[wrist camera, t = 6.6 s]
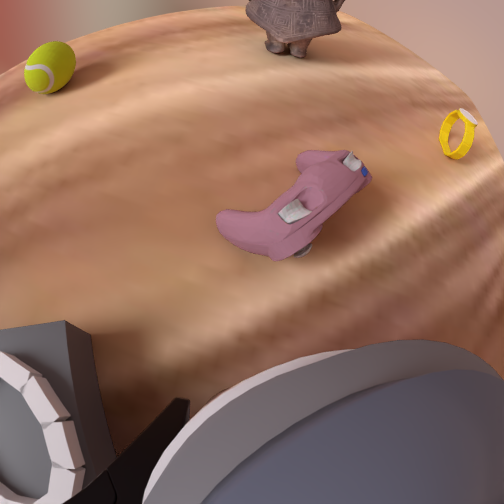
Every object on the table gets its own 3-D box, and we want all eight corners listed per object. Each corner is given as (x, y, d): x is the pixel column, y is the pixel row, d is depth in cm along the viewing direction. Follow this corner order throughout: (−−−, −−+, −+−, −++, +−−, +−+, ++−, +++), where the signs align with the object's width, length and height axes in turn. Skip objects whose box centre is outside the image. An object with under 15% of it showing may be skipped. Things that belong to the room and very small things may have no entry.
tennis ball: (24, 108, 24) (7, 66, 18) (47, 79, 27) (36, 39, 21) (66, 100, 24) (53, 51, 18) (88, 71, 27) (80, 27, 21)
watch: (430, 132, 30) (451, 97, 25) (446, 140, 30) (467, 107, 25) (443, 161, 27) (469, 124, 22) (460, 169, 27) (486, 134, 22)
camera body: (141, 522, 10) (121, 556, 6) (16, 508, 8) (-22, 522, 4) (90, 334, 15) (53, 313, 11) (-21, 348, 13) (-63, 330, 9)
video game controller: (246, 278, 20) (310, 274, 13) (204, 222, 19) (252, 191, 13) (329, 200, 24) (395, 176, 17) (298, 154, 23) (358, 117, 17)
